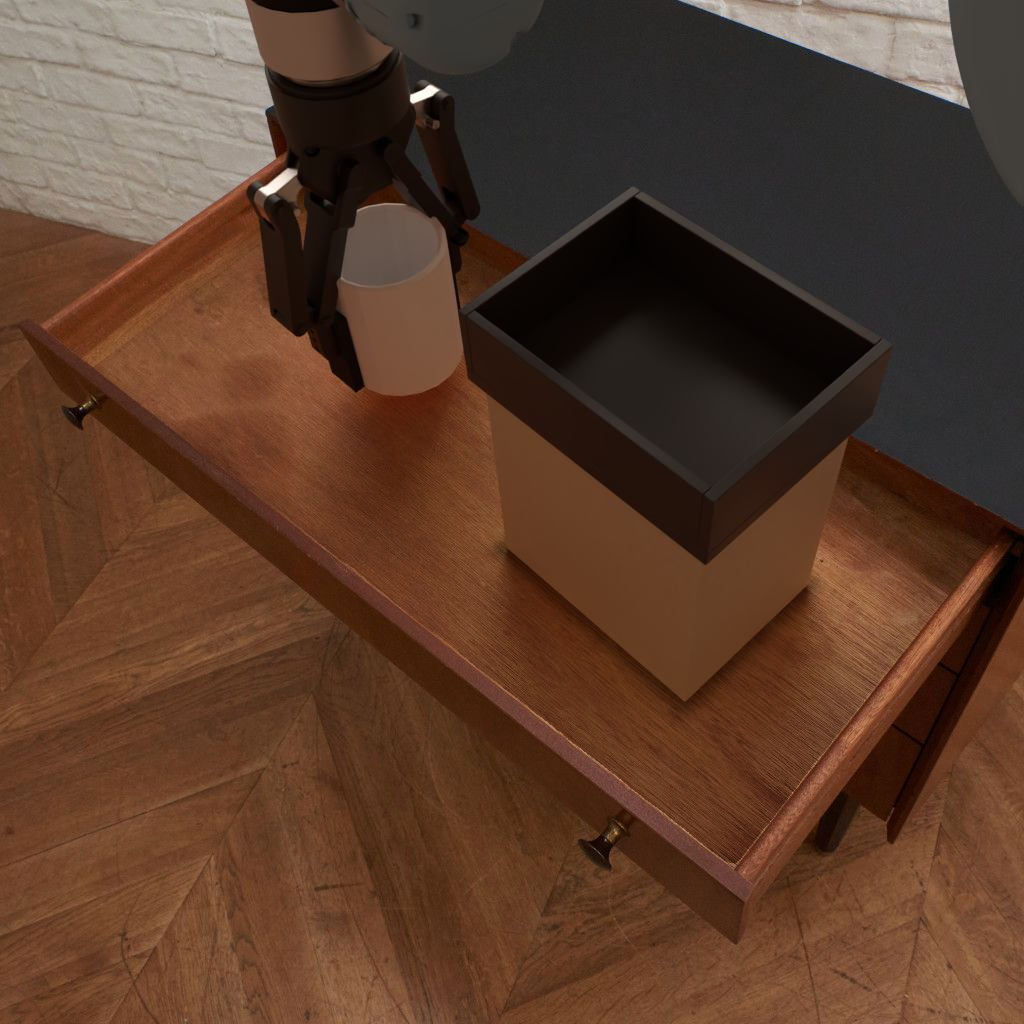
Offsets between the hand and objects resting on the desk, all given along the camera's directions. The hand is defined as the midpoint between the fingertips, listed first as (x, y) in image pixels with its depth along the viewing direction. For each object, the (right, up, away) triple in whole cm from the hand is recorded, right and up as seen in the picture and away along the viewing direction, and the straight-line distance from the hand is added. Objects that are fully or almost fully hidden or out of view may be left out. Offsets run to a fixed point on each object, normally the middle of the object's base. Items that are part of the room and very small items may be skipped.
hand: (397, 344), depth 80 cm
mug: (-1, 0, +1) cm, 1 cm away
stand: (+17, -15, -9) cm, 24 cm away
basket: (+16, -6, -22) cm, 28 cm away
